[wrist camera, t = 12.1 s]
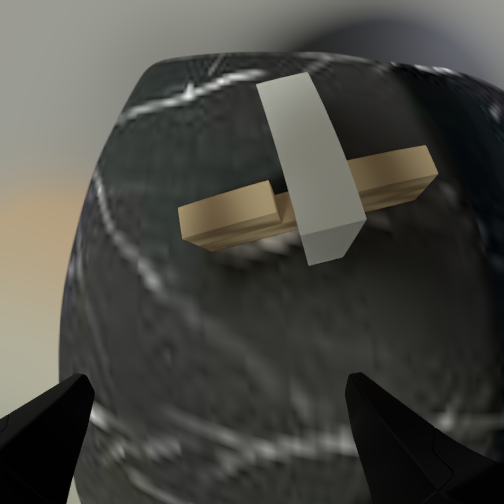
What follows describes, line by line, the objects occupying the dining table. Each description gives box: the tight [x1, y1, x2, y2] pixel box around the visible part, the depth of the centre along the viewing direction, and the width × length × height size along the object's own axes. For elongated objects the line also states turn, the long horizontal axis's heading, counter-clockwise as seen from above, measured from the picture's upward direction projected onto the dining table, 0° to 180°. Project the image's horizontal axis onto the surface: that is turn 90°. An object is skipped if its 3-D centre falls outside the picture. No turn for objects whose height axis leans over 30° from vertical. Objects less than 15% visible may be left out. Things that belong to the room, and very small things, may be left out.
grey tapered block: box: [256, 72, 367, 266], centre depth 15 cm, size 8×2×10 cm, turn 12°
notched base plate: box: [178, 145, 438, 252], centre depth 18 cm, size 16×2×5 cm, turn 102°
